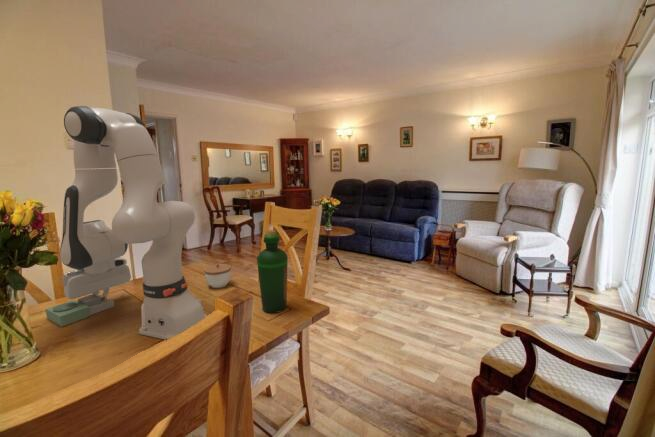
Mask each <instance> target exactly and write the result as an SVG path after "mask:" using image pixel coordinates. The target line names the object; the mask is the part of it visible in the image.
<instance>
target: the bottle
mask: <svg viewBox="0 0 655 437" xmlns="http://www.w3.org/2000/svg"><path fill="white" fill-rule="evenodd" d="M279 242H280V238H279V234H278V233H277V230H275V229H270V230H269V229H268V230H266V234H264V236H263V243H264V244H265V249H263V250H261V251H260V252H259V254H258V255H257V256H256V263H257V264H256V265H257V270H258V272H257V273H258V281H259V288H260V290H259V292H260V298H261V307H262V308H261V309H262V310H263V311H264V312H267V313H272V314H274V313H279V312H281V311H284V310H285V309H286V308H287V303H288V302H287V300H288V295H287V293H288V263H289V262H288V254H287V253H286V252H285V250H283V249H281V248H279V247H278V246H279Z"/></svg>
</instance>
